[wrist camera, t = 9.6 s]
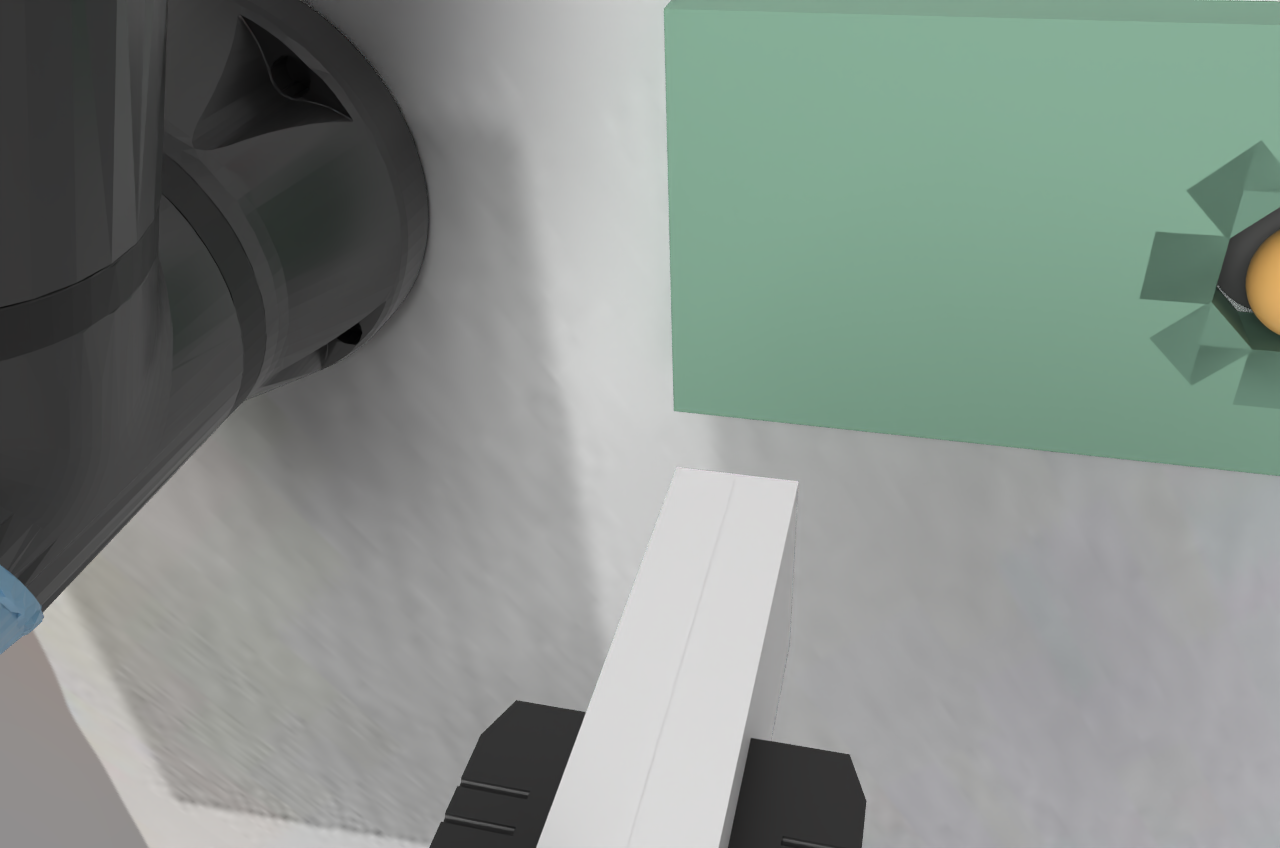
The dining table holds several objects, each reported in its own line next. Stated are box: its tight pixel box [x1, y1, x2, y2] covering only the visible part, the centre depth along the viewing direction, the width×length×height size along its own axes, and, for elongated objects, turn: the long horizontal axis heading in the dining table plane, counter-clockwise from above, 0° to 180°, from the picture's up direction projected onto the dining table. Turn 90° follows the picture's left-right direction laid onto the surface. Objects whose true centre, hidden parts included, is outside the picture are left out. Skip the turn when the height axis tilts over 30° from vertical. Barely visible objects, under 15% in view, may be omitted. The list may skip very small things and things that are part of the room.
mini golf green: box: [664, 0, 1280, 476], centre depth 31 cm, size 24×14×12 cm, turn 92°
